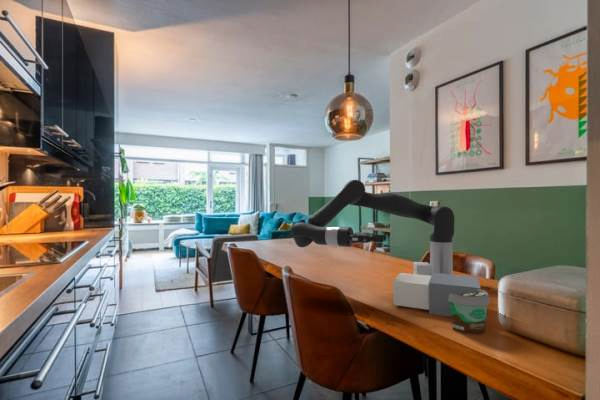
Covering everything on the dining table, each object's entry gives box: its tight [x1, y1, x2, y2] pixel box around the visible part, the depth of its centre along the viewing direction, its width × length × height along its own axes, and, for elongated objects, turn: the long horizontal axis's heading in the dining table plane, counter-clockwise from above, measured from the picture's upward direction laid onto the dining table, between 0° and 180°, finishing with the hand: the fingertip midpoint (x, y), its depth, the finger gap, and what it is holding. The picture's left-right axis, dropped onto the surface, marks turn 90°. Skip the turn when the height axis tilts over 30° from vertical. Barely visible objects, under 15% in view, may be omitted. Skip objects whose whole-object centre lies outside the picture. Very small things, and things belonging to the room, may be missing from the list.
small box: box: [413, 261, 432, 276], centre depth 123 cm, size 8×6×10 cm
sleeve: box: [428, 273, 482, 318], centre depth 100 cm, size 14×16×10 cm
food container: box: [448, 289, 491, 335], centre depth 82 cm, size 12×6×10 cm, turn 114°
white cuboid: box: [392, 272, 431, 311], centre depth 102 cm, size 25×14×8 cm, turn 63°
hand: (384, 238), depth 110 cm, fingers open, 3 cm apart
